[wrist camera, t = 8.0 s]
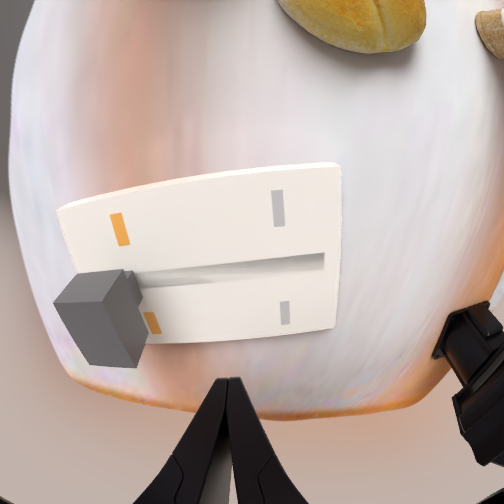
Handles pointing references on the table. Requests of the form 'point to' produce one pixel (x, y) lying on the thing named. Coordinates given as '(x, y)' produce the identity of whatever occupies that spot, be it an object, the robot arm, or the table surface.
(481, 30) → the sprinkles bottle
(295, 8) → the bread roll
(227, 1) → the table surface
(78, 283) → the fader knob
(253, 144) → the table surface
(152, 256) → the fader panel
